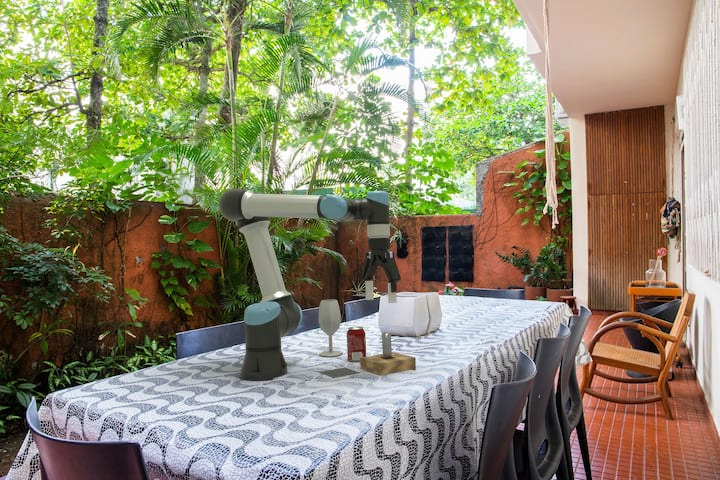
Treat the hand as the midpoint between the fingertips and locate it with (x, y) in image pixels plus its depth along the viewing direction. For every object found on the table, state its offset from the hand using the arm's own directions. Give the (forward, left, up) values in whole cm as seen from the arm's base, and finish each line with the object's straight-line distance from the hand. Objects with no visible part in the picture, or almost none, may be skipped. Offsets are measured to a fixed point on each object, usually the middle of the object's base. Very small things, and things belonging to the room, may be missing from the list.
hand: (380, 301), depth 168 cm
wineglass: (-2, +33, -23) cm, 40 cm away
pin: (+1, -1, -23) cm, 23 cm away
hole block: (+1, -1, -23) cm, 23 cm away
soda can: (0, +17, -23) cm, 28 cm away
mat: (-14, +5, -23) cm, 27 cm away
